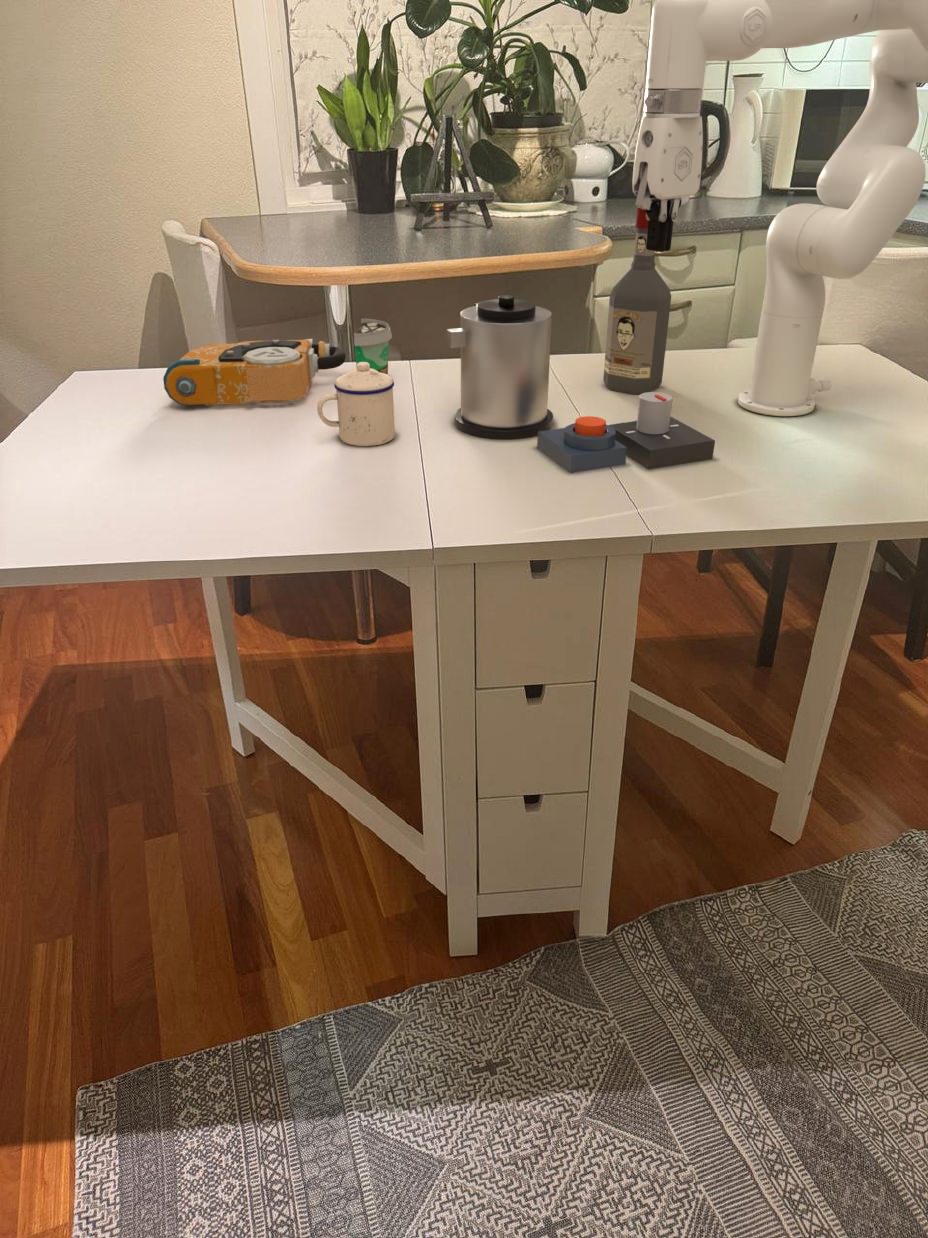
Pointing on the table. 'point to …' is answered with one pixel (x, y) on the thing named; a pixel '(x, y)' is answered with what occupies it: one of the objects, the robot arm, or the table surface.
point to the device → (249, 372)
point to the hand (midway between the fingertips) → (658, 249)
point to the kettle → (503, 369)
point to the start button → (590, 426)
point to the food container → (373, 344)
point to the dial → (654, 413)
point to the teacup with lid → (363, 407)
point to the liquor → (637, 322)
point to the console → (664, 445)
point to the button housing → (581, 449)
